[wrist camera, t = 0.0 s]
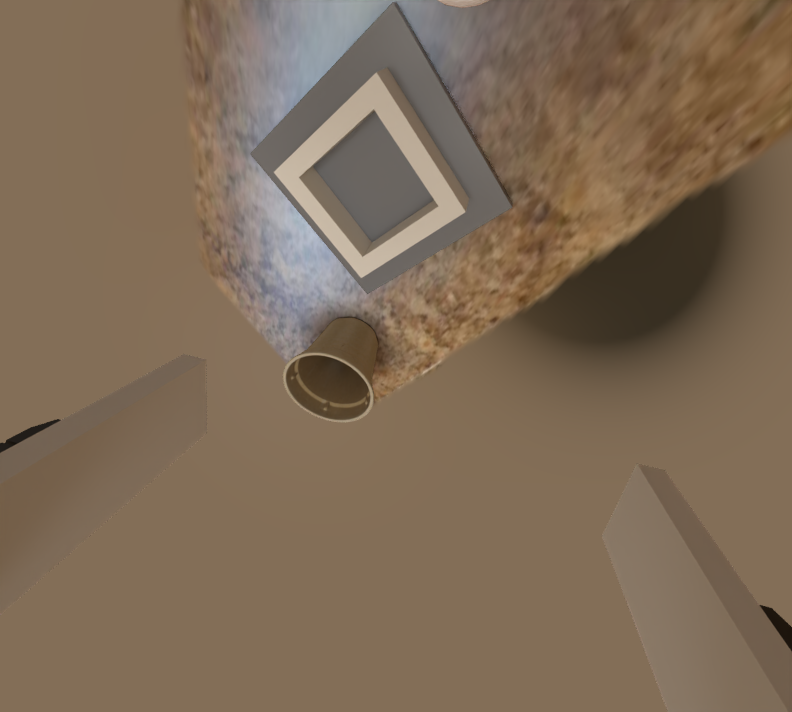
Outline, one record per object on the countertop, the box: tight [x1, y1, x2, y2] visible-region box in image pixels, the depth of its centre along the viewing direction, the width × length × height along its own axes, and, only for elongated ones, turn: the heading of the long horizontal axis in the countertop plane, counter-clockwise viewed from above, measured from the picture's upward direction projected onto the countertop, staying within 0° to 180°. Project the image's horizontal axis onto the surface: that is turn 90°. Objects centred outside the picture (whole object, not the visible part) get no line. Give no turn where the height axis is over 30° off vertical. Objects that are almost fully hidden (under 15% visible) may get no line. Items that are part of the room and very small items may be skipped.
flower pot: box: [283, 318, 378, 422], centre depth 44 cm, size 9×9×9 cm
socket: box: [251, 2, 512, 294], centre depth 34 cm, size 16×16×4 cm
